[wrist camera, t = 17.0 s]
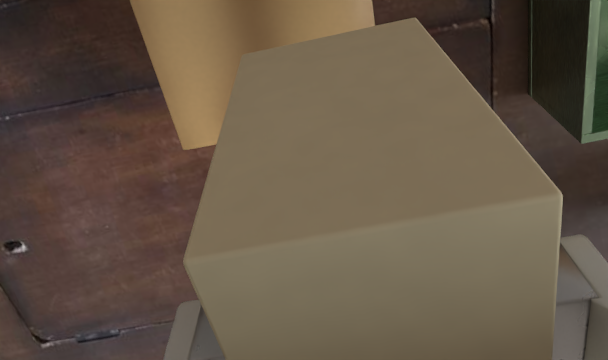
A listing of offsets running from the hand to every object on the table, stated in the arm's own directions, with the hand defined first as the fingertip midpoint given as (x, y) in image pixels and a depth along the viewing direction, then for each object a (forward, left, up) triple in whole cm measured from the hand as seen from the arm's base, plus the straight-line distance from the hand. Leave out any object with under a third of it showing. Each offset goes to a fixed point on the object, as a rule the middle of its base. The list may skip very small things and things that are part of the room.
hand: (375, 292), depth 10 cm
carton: (0, 0, -7) cm, 7 cm away
